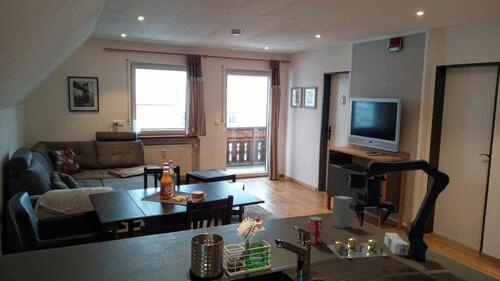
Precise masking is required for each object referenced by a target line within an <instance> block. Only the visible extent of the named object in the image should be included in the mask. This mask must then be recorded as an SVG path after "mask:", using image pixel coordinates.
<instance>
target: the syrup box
mask: <svg viewBox="0 0 500 281" xmlns="http://www.w3.org/2000/svg"><path fill="white" fill-rule="evenodd" d="M383 242H384V244H385V245H386V246H387V248H388V249H389V250H390V251H391V252H392V253H393V254H394V255H396V256H409V243H407V241H405V240H404V239H403V237H402V236H400V235H399V233H397V232H384V240H383Z"/></svg>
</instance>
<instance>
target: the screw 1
mask: <svg viewBox="0 0 500 281" xmlns="http://www.w3.org/2000/svg"><path fill="white" fill-rule="evenodd" d="M344 244H345V241H342V240H335V241H334V245H335V247H334V250H335V251H337V252H341V253H342V254H343V255H345V256H348V251H349V250H348V249H347V248H346V247H345V246H344Z"/></svg>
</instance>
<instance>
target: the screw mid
mask: <svg viewBox="0 0 500 281" xmlns="http://www.w3.org/2000/svg"><path fill="white" fill-rule="evenodd" d="M358 239H359V238H356V237H353V236H351V237H350V236H349V237H348V240H347V244H348V247H350V248H355V249H356V250H357V251H358V252H362V245H361V244H362V243H360V242H359V240H358Z"/></svg>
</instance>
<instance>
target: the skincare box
mask: <svg viewBox="0 0 500 281" xmlns="http://www.w3.org/2000/svg"><path fill="white" fill-rule="evenodd" d="M351 202H354V198H353V197H350V196H345V195H338V196H333V205H332V207H333V208H332V222H331V223H332V227H336V228H338V229H340V230H342V229H346V228H351V227H352V222H353V221H352V219H353V217H352V216H353V210H351V209H350V208H349V204H350V203H351Z"/></svg>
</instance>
